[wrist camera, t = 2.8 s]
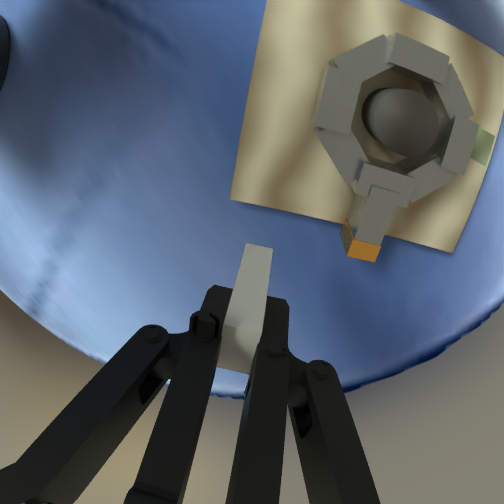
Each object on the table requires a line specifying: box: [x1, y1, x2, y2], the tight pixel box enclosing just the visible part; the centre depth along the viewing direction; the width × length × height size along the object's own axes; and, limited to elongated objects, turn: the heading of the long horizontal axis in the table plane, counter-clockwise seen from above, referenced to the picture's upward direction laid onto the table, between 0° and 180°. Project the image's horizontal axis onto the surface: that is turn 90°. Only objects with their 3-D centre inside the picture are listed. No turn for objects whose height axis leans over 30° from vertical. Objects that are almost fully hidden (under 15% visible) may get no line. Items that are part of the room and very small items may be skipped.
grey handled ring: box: [311, 33, 480, 262], centre depth 22 cm, size 18×13×4 cm
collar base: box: [230, 0, 504, 253], centre depth 22 cm, size 24×22×6 cm
